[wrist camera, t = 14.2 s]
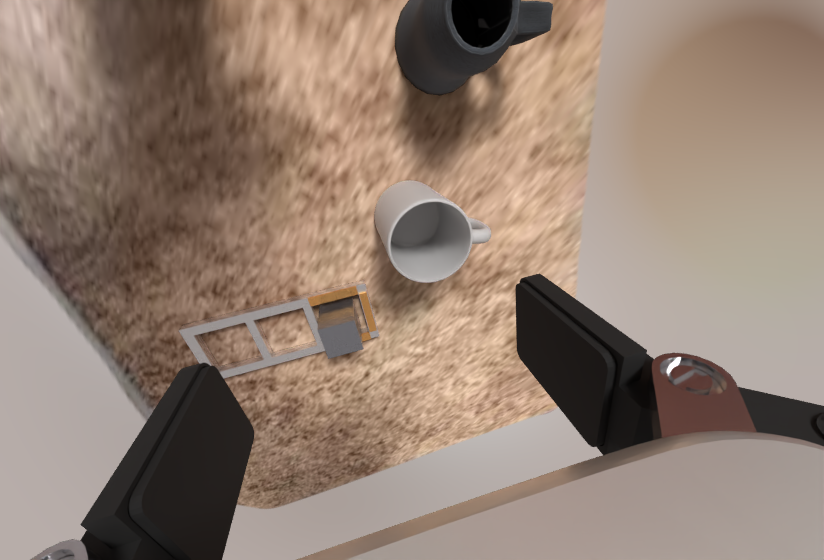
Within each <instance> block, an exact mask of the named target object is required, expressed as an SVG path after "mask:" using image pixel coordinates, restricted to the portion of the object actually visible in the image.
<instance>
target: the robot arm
mask: <svg viewBox="0 0 824 560" xmlns="http://www.w3.org/2000/svg"><path fill="white" fill-rule="evenodd" d="M516 332H517V352H518V355H519V357H520V359H521V360H522V362H523V363H524V364H525V365H526V367H527V368H528V369H529V370H530V372H531V373H532V374H533V375H534V377H535V378H536V379H537V380H538V382H539V383H540V384H541V385H542V387H543V388H544V389H545V390H546V392H547V393H548V394H549V395H550V397H551V398H552V399H553V400H554V402H555V403H556V404H557V406H558V407H559V408H560V409H561V411H562V412H563V413H564V414H565V415H566V417H567V418H568V419H569V420H570V422H571V423H572V424H573V426H574V427H575V428H576V429H577V431H578V432H579V433H580V434H581V435H582V437H583V438H584V439H585V441H586V442H587V443H588V444H589V445H591V446H592V447H597V448H598V449H599V450H600V452H601V453H602V454H603V456H599V457H596V458H593V459H590V460H587V461H584V462H581V463H577V464H574V465H571V466H568V467H566V468H562V469H559V470H556V471H553V472H551V473H548V474H545V475H542V476H539V477H536V478H533V479H530V480H527V481H524V482H521V483H518V484H515V485H512V486H509V487H506V488H503V489H500V490H497V491H494V492H491V493H488V494H485V495H483V496H480V497H476V498H474V499H471V500H468V501H465V502H462V503H459V504H456V505H453V506H450V507H447V508H444V509H442V510H439V511H436V512H433V513H430V514H427V515H424V516H421V517H418V518H415V519H412V520H409V521H407V522H404V523H401V524H398V525H395V526H392V527H389V528H386V529H384V530H380V531H378V532H375V533H372V534H369V535H366V536H363V537H360V538H358V539H354V540H352V541H349V542H346V543H343V544H340V545H337V546H334V547H332V548H329V549H325V550H323V551H320V552H317V553H314V554H311V555H308V556H305V557H303V558H300V559H297V560H824V406H821V405H817V404H812V403H808V402H803V401H799V400H794V399H789V398H785V397H781V396H776V395H772V394H768V393H763V392H759V391H754V390H750V389H745V388H740V387H737V384H736V382H735V381H734V379H733V378H732V376H731V375H730V374H729V373H728V372H727V371H725V370H724V369H723V368H722V367H720V366H718V365H716V364H715V363H713V362H711V361H709V360H706V359H703V358H701V357H698V356H694V355H689V354H684V353H668V354H663V355H660V356H658V357H656V358H655V359H653V358H652V357H650V356H649V355H647V354H646V352H647V350H646V349H644V348H643V347H642V346H640V345H639V344H637V343H636V342H634V341H633V340H632V339H630V338H629V337H628V336H626V335H625V334H623V333H622V332H621V331H619V330H618V329H617V328H615V327H614V326H612V325H611V324H609V323H608V322H606V321H605V320H604V319H603V318H601V317H600V316H598V315H597V314H595V313H594V312H593V311H591V310H590V309H589V308H587V307H586V306H584V305H583V304H582V303H580V302H579V301H577V300H576V299H575V298H573V297H572V296H570V295H569V294H568V293H566V292H565V291H563V290H562V289H561V288H559V287H558V286H556V285H555V284H554V283H552V282H551V281H549V280H548V279H547V278H545V277H544V276H542V275H541V274H536V275H532V276H528V277H524V278H522V279H521V280H520V283H519V284H517V285H516ZM253 440H254V430H253V427H252V425H251V423H250V421H249V420H248V418H247V416H246V415H245V413H244V411H243V410H242V408H241V407H240V405H239V403H238V402H237V400H236V398H235V397H234V395H233V393H232V392H231V390H230V388H229V387H228V385H227V384H226V382H225V380H224V379H223V377H222V375H221V374H220V372H219V370H218V369H217V368H216V367H215V366H210V365H209V364H207V363H200V364H197V365H193V366H189V367H185V368H183V369H181V370H180V371H179V372H178V374H177V376H176V377H175V379H174V380H173V382H172V383H171V385H170V386H169V388H168V390H167V391H166V393H165V394H164V396H163V397H162V399H161V400H160V402H159V404H158V405H157V407H156V408H155V410H154V411H153V413H152V414H151V416H150V418H149V419H148V421H147V422H146V424H145V425H144V427H143V429H142V430H141V432H140V433H139V435H138V436H137V438H136V439H135V441H134V442H133V444H132V446H131V447H130V449H129V450H128V452H127V453H126V455H125V456H124V458H123V460H122V461H121V463H120V464H119V466H118V467H117V469H116V470H115V472H114V474H113V475H112V477H111V478H110V480H109V481H108V483H107V484H106V486H105V488H104V489H103V491H102V492H101V494H100V495H99V497H98V499H97V500H96V502H95V503H94V505H93V506H92V508H91V509H90V511H89V512H88V514H87V516H86V517H85V519H84V520H83V522H82V523H81V526H83V527H84V528H85V529H86V530H87V531H86V532H85V534H84V536H83V537H82V539H81V540H80V541H79V540H74V539H72V540H68V541H63V542H60V543H58V544H56V545H54V546H52V547H49V548H47V549H46V550H44V551H43V552H41V553H40V554H38V555H37V556H35V557H34V558H32V559H31V560H222V557H223V553H224V550H225V546H226V542H227V538H228V535H229V531H230V527H231V523H232V519H233V515H234V512H235V508H236V504H237V500H238V497H239V493H240V489H241V485H242V482H243V478H244V474H245V470H246V466H247V463H248V459H249V455H250V451H251V447H252V444H253Z"/></svg>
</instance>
